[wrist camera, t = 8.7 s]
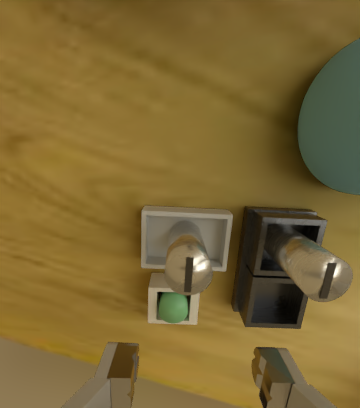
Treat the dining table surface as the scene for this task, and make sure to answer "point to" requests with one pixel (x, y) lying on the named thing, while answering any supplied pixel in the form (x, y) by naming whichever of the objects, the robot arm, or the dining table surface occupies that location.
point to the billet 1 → (187, 260)
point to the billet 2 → (308, 263)
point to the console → (155, 287)
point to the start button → (173, 307)
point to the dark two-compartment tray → (270, 269)
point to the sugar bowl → (334, 122)
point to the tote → (167, 216)
